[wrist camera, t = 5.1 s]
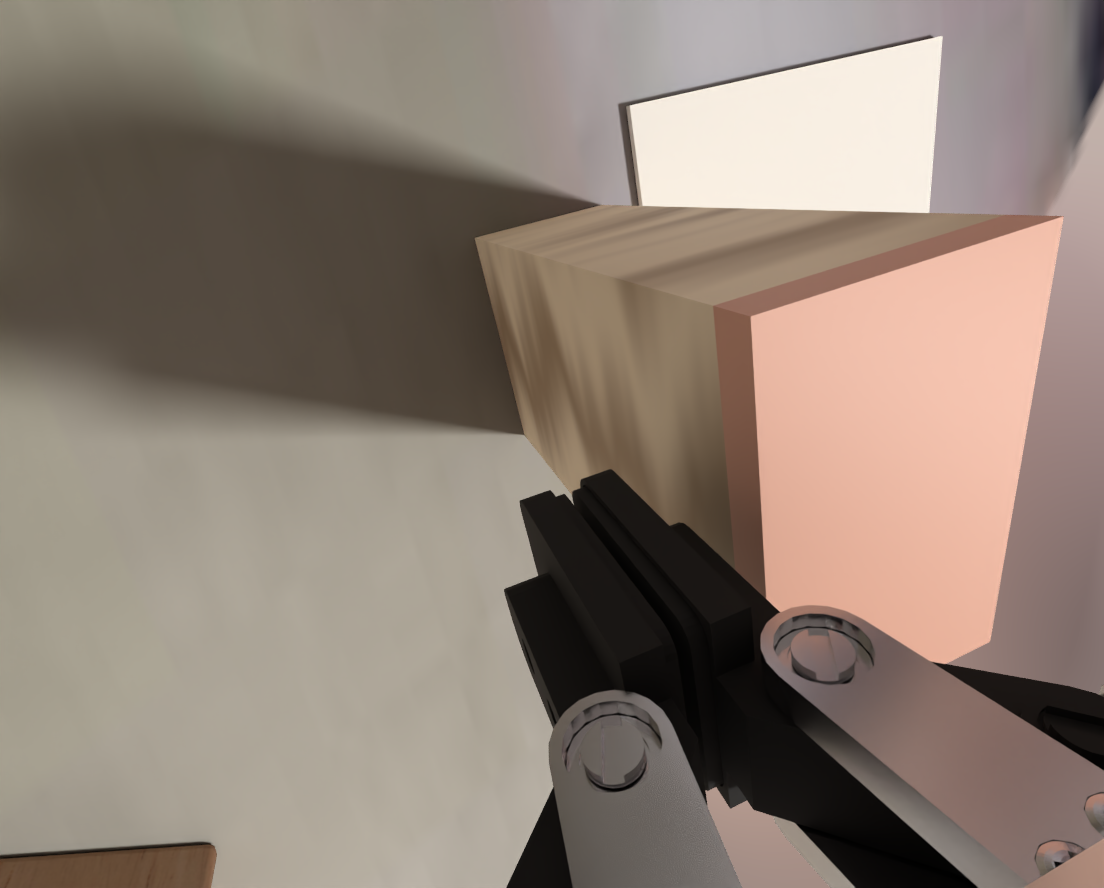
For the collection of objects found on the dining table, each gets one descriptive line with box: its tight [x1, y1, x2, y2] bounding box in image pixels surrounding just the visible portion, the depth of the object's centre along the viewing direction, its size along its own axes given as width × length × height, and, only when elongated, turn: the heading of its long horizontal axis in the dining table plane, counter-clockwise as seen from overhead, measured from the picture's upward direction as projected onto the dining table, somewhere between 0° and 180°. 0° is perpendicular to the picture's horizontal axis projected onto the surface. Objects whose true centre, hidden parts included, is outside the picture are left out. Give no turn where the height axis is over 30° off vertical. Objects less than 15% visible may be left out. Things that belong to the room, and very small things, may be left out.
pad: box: [626, 36, 942, 213], centre depth 25 cm, size 14×14×1 cm
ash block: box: [475, 205, 1063, 664], centre depth 16 cm, size 8×5×16 cm, turn 13°
